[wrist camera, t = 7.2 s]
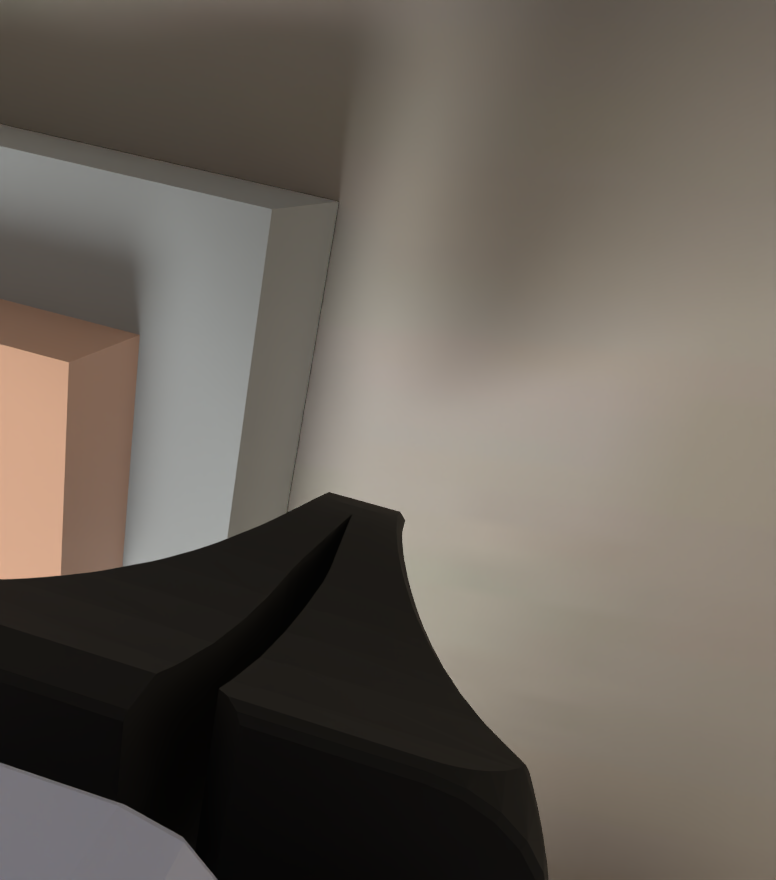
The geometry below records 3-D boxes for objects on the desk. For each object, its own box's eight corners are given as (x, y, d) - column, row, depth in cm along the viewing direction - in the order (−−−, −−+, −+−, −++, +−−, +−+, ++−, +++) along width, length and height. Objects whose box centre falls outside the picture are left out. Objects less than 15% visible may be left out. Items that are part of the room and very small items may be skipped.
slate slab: (241, 778, 21) (176, 908, 17) (-71, 676, 22) (-195, 777, 18) (338, 202, 15) (271, 209, 11) (-95, 102, 16) (-287, 79, 12)
